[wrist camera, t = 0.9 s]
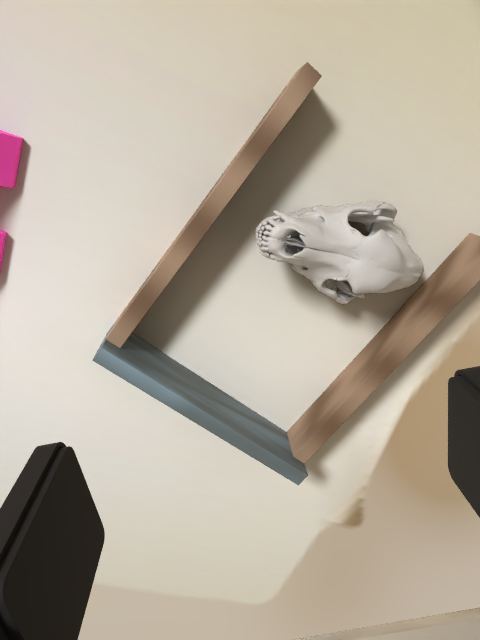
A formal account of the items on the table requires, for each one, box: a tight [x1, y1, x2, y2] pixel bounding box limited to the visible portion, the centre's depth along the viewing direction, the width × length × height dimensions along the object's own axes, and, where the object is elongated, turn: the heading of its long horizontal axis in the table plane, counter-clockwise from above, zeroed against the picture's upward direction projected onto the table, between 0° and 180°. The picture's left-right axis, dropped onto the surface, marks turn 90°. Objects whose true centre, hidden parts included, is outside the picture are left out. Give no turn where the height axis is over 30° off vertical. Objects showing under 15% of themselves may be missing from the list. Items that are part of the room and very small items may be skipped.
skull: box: [255, 201, 424, 304], centre depth 31 cm, size 8×9×12 cm
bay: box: [93, 62, 480, 485], centre depth 34 cm, size 24×19×5 cm
